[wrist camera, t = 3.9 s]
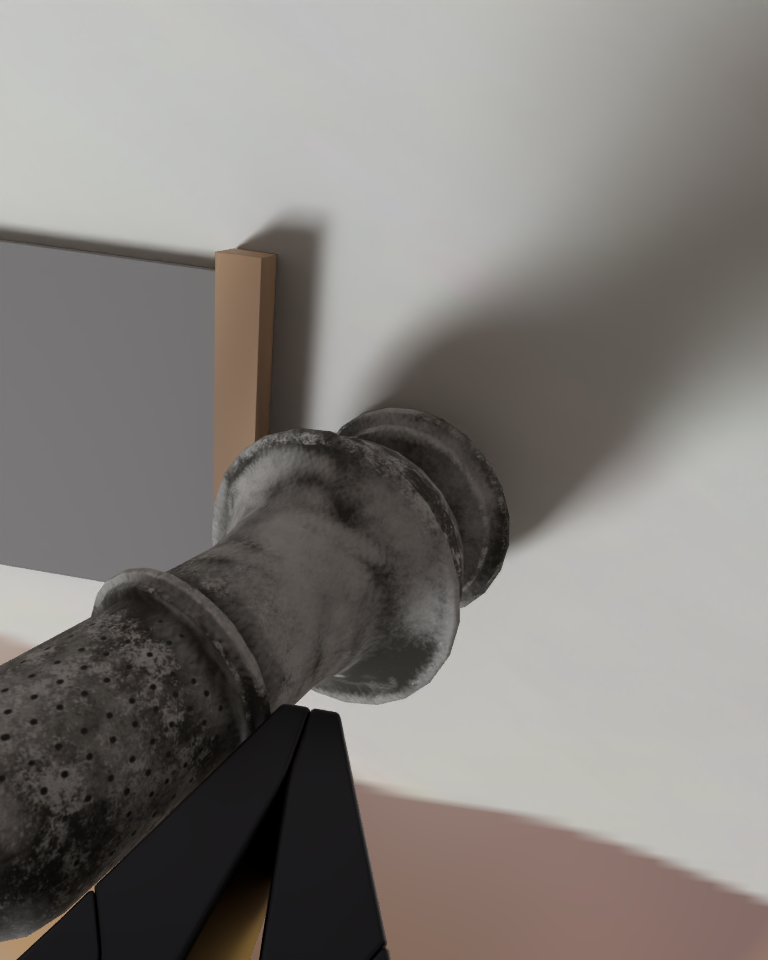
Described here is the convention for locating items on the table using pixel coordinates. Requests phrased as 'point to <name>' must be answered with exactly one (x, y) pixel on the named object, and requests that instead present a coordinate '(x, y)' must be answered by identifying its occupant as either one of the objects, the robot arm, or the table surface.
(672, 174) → the table surface
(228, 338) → the kerb
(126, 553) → the mat
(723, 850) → the table surface
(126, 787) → the stone baluster finial
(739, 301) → the table surface
